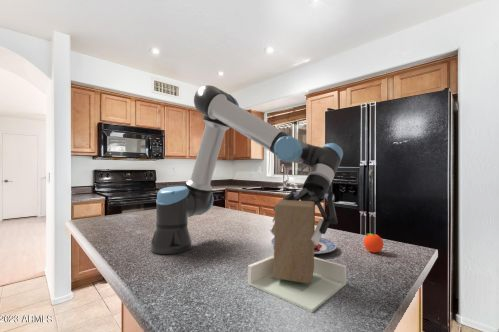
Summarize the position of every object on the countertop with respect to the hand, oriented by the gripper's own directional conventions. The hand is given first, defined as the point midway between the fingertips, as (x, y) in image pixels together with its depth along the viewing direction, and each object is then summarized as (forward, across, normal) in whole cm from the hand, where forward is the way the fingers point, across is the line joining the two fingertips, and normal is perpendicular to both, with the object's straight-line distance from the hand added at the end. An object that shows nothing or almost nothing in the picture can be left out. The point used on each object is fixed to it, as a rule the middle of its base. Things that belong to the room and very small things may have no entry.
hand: (291, 237), depth 69 cm
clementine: (-23, -7, -41) cm, 48 cm away
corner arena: (+9, -2, -9) cm, 13 cm away
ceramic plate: (-13, +14, -31) cm, 37 cm away
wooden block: (+6, 0, -9) cm, 11 cm away
